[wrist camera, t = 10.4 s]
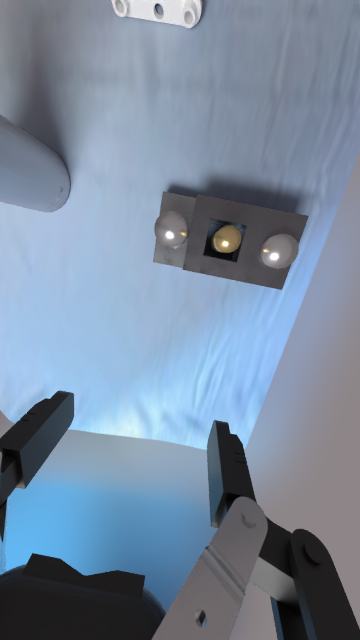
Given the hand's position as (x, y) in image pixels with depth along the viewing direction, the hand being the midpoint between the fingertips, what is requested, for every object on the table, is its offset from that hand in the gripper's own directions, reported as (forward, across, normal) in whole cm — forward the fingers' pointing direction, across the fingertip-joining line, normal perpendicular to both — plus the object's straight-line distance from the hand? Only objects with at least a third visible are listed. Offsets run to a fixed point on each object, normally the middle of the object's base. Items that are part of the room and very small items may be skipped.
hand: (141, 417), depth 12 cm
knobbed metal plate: (+28, -5, -11) cm, 30 cm away
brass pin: (+28, -5, -11) cm, 30 cm away
